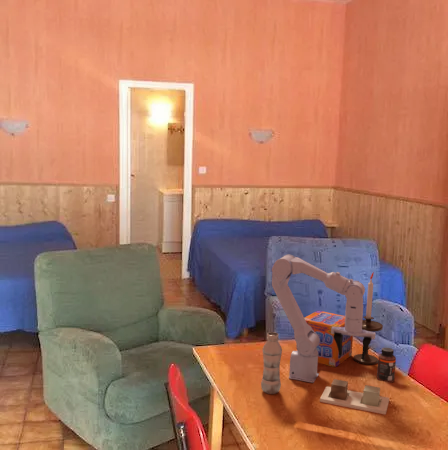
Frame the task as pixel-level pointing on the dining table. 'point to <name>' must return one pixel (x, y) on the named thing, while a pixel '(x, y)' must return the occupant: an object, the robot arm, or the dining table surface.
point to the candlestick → (369, 328)
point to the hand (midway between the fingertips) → (351, 356)
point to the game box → (329, 337)
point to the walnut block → (339, 389)
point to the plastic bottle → (271, 364)
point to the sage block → (371, 395)
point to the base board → (355, 401)
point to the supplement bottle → (386, 365)
